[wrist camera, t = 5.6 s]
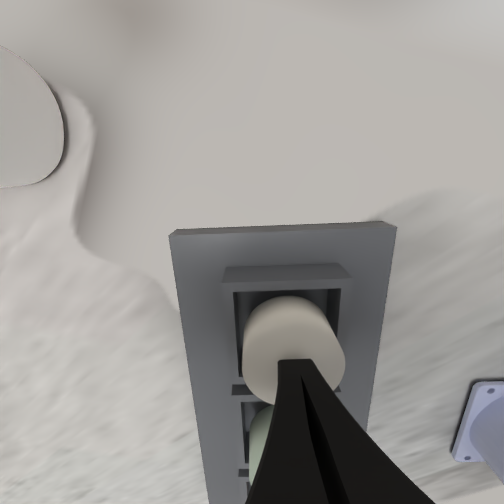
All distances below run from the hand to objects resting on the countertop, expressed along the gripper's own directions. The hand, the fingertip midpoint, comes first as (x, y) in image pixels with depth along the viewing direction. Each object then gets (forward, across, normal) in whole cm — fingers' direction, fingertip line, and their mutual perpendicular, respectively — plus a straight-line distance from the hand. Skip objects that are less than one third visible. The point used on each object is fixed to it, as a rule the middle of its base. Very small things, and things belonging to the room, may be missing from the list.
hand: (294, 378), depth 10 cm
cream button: (+3, 0, 0) cm, 3 cm away
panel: (+6, 0, +7) cm, 9 cm away
